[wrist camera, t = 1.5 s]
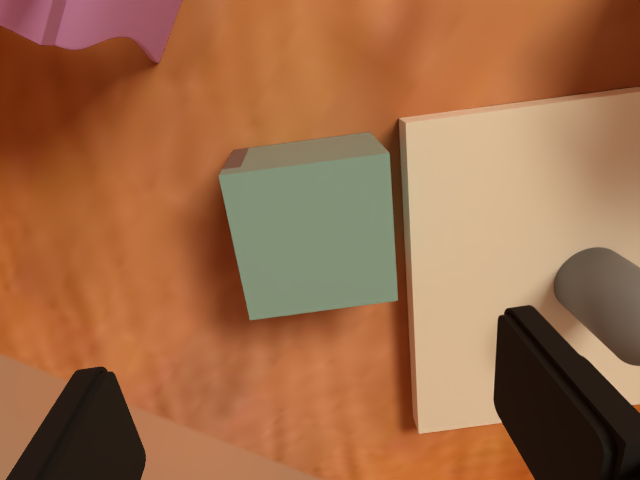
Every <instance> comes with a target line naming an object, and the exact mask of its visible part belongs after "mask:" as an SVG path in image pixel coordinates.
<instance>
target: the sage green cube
mask: <svg viewBox="0 0 640 480" xmlns="http://www.w3.org/2000/svg"><path fill="white" fill-rule="evenodd" d="M218 176H219V181H220V185H221V190H222V194H223V199H224V204H225V208H226V213H227V217H228V222H229V227H230V231H231V236H232V240H233V245H234V250H235V254H236V259H237V264H238V268H239V273H240V277H241V282H242V287H243V291H244V296H245V300H246V305H247V310H248V314H249V319H250V320H257V319H264V318H272V317H279V316H287V315H294V314H302V313H309V312H317V311H324V310H332V309H339V308H347V307H354V306H362V305H369V304H377V303H384V302H392V301H398V290H397V272H396V255H395V238H394V220H393V203H392V185H391V168H390V153H389V152H388V151H387V150H386V149H385V147H384V146H383V145H382V144H381V143H380V142H379V141H378V140H377V139H376V138H375V137H374V136H373V135H372V134H371V133H370V132H367V133H359V134H351V135H344V136H336V137H329V138H321V139H313V140H306V141H298V142H291V143H283V144H276V145H268V146H260V147H253V148H245V149H238V150H233V152H232V153H231V155H230V157H229V159H228V160H227V162H226V164H225V165H224V167H223V169H222V170H221V172H220V174H219V175H218Z"/></svg>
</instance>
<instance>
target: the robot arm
mask: <svg viewBox="0 0 640 480" xmlns="http://www.w3.org/2000/svg"><path fill="white" fill-rule="evenodd" d="M493 399H494V406H495V409H496V412H497V414H498V416H499V418H500V420H501V421H502V423H503V425H504V427H505V428H506V430H507V432H508V434H509V435H510V437H511V439H512V440H513V442H514V444H515V446H516V447H517V449H518V451H519V453H520V454H521V456H522V458H523V459H524V461H525V463H526V465H527V466H528V468H529V470H530V472H531V473H532V475H533V477H534V478H535V480H640V413H639V412H638V411H637V410H636V409H635V408H634V407H633V406H632V405H631V404H630V403H629V402H628V401H627V400H626V399H625V398H624V397H623V396H622V395H621V394H620V393H619V392H618V390H617V389H616V388H615V387H614V386H613V385H612V384H611V383H610V382H609V381H608V380H607V379H606V378H605V377H604V376H603V375H602V374H601V373H600V372H599V371H598V370H597V369H596V368H595V367H594V366H593V365H592V364H591V363H590V361H588V360H587V359H586V358H585V357H584V356H581V355H579V354H578V353H577V352H576V350H575V349H574V348H573V347H572V346H571V345H570V344H569V343H568V342H567V341H566V340H565V339H564V338H563V337H562V336H561V335H560V334H559V333H558V332H557V331H556V330H555V328H554V327H553V326H552V325H551V324H550V323H549V322H548V321H547V320H546V319H545V318H544V317H543V316H542V315H541V314H540V313H539V312H538V311H537V310H536V309H535V308H534V307H533V306H532V305H525V306H519V307H512V308H507V309H506V310H505V312H504V315H500V316H499V317H498V323H497V342H496V360H495V379H494V397H493ZM145 457H146V455H145V450H144V448H143V445H142V442H141V440H140V438H139V435H138V432H137V430H136V427H135V424H134V422H133V419H132V417H131V414H130V412H129V409H128V407H127V404H126V402H125V399H124V396H123V394H122V391H121V389H120V386H119V384H118V381H117V379H116V376H115V374H114V373H113V372H108V371H107V369H106V368H104V367H95V368H88V369H81V370H77V371H76V372H75V373H74V374H73V375H72V377H71V379H70V380H69V382H68V383H67V385H66V386H65V388H64V390H63V391H62V393H61V394H60V396H59V397H58V399H57V401H56V402H55V404H54V405H53V407H52V408H51V410H50V411H49V413H48V415H47V416H46V418H45V419H44V421H43V423H42V424H41V426H40V427H39V429H38V430H37V432H36V433H35V435H34V436H33V438H32V440H31V441H30V443H29V444H28V446H27V447H26V449H25V451H24V452H23V454H22V455H21V457H20V458H19V460H18V462H17V463H16V465H15V466H14V468H13V469H12V471H11V472H10V474H9V476H8V477H7V479H6V480H141V476H142V473H143V470H144V467H145V461H146V458H145Z"/></svg>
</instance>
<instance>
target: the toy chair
mask: <svg viewBox="0 0 640 480" xmlns="http://www.w3.org/2000/svg"><path fill="white" fill-rule="evenodd" d="M181 2H182V0H0V26H2V27H4V28H6V29H8V30H11V31H13V32H15V33H17V34H19V35H21V36H23V37H25V38H27V39H29V40H31V41H33V42H35V43H37V44H39V45H55V46H58V47H61V48H63V49H68V50H80V49H85V48H88V47H90V46H93V45H95V44H98V43H100V42H103V41H105V40H108V39H112V38H116V37H128V38H130V39H132V40H133V41H135V42H136V43H137V44H138V45H139V46H140V47H141V48H142V49H143V51H144V52H145V53H146V54H147V56H148V57H149V58H150V60H152V61H154V62H156V63H159V62H160V60H161V57H162V54H163V52H164V49H165V46H166V43H167V41H168V38H169V35H170V32H171V30H172V27H173V24H174V21H175V19H176V16H177V13H178V10H179V8H180V5H181Z"/></svg>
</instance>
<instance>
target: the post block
mask: <svg viewBox="0 0 640 480" xmlns="http://www.w3.org/2000/svg"><path fill="white" fill-rule="evenodd" d="M399 135H400V156H401V177H402V198H403V219H404V240H405V261H406V282H407V303H408V324H409V344H410V365H411V386H412V407H413V418H414V421H415V424H416V427H417V430H418V433H419V434H421V433H429V432H436V431H444V430H451V429H458V428H466V427H473V426H481V425H488V424H495V423H502V421H501V420H500V418H499V416H498V414H497V412H496V409H495V406H494V399H493V397H494V379H495V360H496V342H497V323H498V317H499V316H500V315H504V312H505V310H506V309H507V308H512V307H519V306H525V305H532V306H533V307H534V308H535V309H536V310H537V311H538V312H539V313H540V314H541V315H542V316H543V317H544V318H545V319H546V320H547V321H548V322H549V323H550V324H551V325H552V326H553V327H554V328H555V330H556V331H557V332H558V333H559V334H560V335H561V336H562V337H563V338H564V339H565V340H566V341H567V342H568V343H569V344H570V345H571V346H572V347H573V348H574V349H575V350H576V352H577V353H578V354H579V355H581V356H584V357H585V358H586V359H587V360H588V361H590V363H591V364H592V365H593V366H594V367H595V368H596V369H597V370H598V371H599V372H600V373H601V374H602V375H603V376H604V377H605V378H606V379H607V380H608V381H609V382H610V383H611V384H612V385H613V386H614V387H615V388H616V389H617V390H618V392H619V393H620V394H621V395H622V396H623V397H624V398H625V399H626V400H627V401H628V402H629V403H630V404H631V405H636V404H640V87H632V88H625V89H617V90H609V91H602V92H594V93H587V94H579V95H571V96H564V97H556V98H549V99H541V100H533V101H526V102H518V103H511V104H503V105H495V106H488V107H480V108H473V109H465V110H457V111H450V112H442V113H435V114H427V115H419V116H412V117H404V118H399Z"/></svg>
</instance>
